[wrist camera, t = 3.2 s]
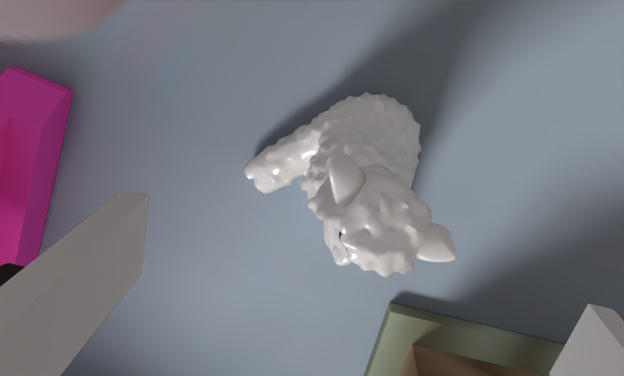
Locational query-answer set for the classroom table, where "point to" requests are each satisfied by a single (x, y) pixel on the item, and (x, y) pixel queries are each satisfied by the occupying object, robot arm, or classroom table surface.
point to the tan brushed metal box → (455, 348)
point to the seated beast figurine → (360, 183)
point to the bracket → (28, 159)
